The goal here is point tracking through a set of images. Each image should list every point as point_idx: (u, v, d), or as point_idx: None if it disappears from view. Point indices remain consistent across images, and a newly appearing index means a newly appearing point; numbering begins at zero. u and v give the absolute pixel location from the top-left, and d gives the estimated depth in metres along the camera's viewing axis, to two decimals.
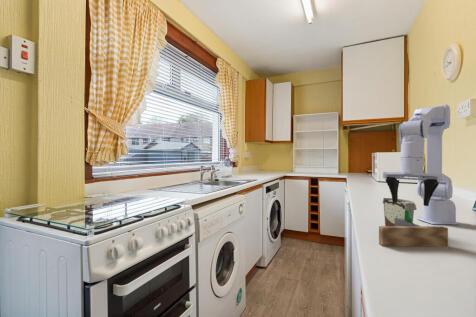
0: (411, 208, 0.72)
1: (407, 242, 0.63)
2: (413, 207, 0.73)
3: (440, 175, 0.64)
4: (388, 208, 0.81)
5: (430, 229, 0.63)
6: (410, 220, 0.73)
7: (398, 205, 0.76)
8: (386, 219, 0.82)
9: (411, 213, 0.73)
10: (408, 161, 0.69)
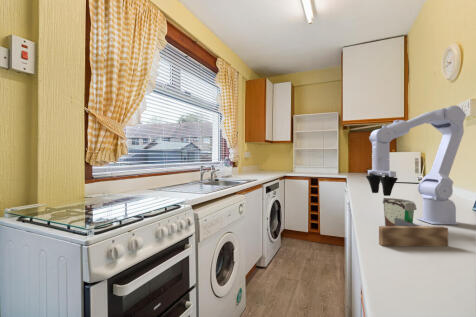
0: (411, 208, 0.72)
1: (407, 242, 0.63)
2: (413, 207, 0.73)
3: (389, 172, 0.83)
4: (388, 208, 0.81)
5: (430, 229, 0.63)
6: (410, 220, 0.73)
7: (398, 205, 0.76)
8: (386, 219, 0.82)
9: (411, 213, 0.73)
10: (373, 162, 0.90)
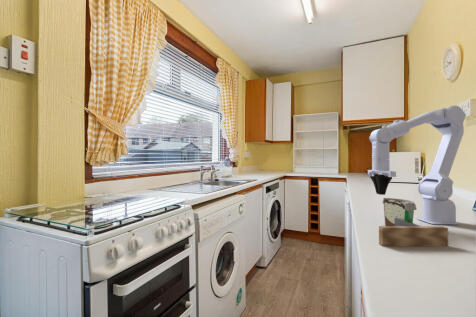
0: (411, 208, 0.72)
1: (407, 242, 0.63)
2: (413, 207, 0.73)
3: (389, 172, 0.83)
4: (388, 208, 0.81)
5: (430, 229, 0.63)
6: (410, 220, 0.73)
7: (398, 205, 0.76)
8: (386, 219, 0.82)
9: (411, 213, 0.73)
10: (373, 162, 0.90)
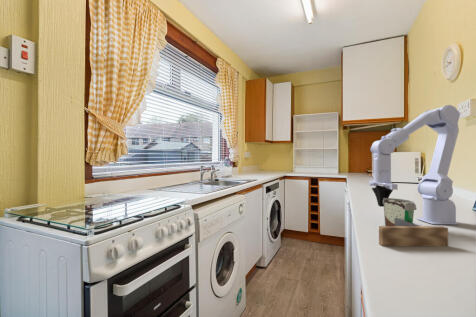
0: (411, 208, 0.72)
1: (407, 242, 0.63)
2: (413, 207, 0.73)
3: (391, 185, 0.82)
4: (388, 208, 0.81)
5: (430, 229, 0.63)
6: (410, 220, 0.73)
7: (398, 205, 0.76)
8: (386, 219, 0.82)
9: (411, 213, 0.73)
10: (374, 174, 0.89)
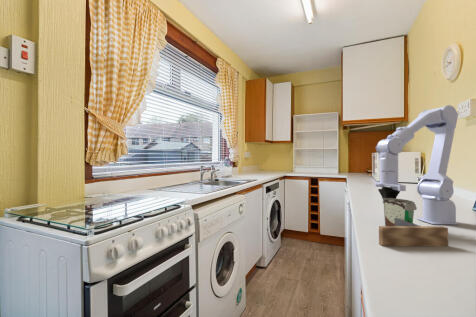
0: (411, 208, 0.72)
1: (407, 242, 0.63)
2: (413, 207, 0.72)
3: (399, 186, 0.78)
4: (388, 208, 0.81)
5: (430, 229, 0.63)
6: (410, 220, 0.73)
7: (398, 205, 0.76)
8: (386, 219, 0.82)
9: (411, 213, 0.73)
10: (380, 174, 0.85)
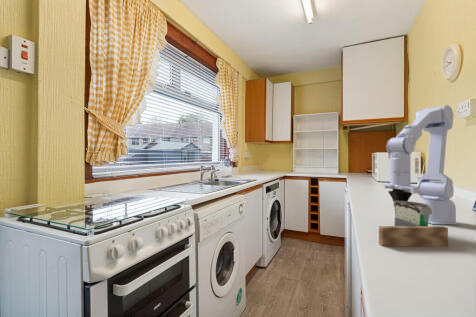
0: (427, 212, 0.66)
1: (407, 242, 0.63)
2: (429, 211, 0.67)
3: (412, 188, 0.72)
4: (400, 211, 0.75)
5: (430, 229, 0.63)
6: (425, 225, 0.67)
7: (412, 209, 0.70)
8: None
9: (426, 218, 0.67)
10: (391, 175, 0.79)
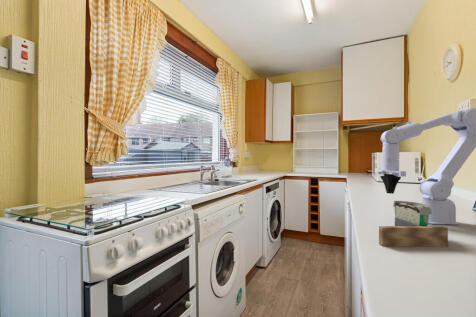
0: (427, 212, 0.66)
1: (407, 242, 0.63)
2: (429, 211, 0.67)
3: (400, 172, 0.86)
4: (400, 212, 0.75)
5: (430, 229, 0.63)
6: (425, 225, 0.67)
7: (412, 209, 0.70)
8: None
9: (426, 218, 0.67)
10: (383, 162, 0.93)
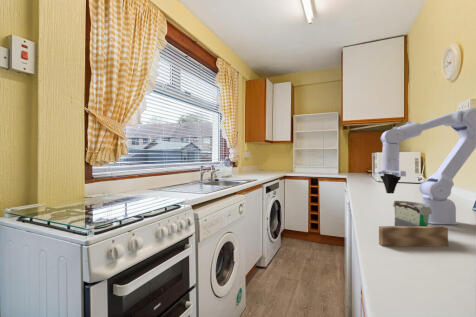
0: (427, 212, 0.66)
1: (407, 242, 0.63)
2: (429, 211, 0.67)
3: (400, 172, 0.86)
4: (400, 212, 0.75)
5: (430, 229, 0.63)
6: (425, 225, 0.67)
7: (412, 209, 0.70)
8: None
9: (426, 218, 0.67)
10: (383, 162, 0.93)
